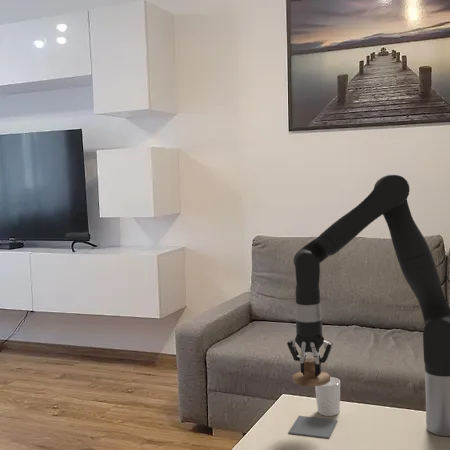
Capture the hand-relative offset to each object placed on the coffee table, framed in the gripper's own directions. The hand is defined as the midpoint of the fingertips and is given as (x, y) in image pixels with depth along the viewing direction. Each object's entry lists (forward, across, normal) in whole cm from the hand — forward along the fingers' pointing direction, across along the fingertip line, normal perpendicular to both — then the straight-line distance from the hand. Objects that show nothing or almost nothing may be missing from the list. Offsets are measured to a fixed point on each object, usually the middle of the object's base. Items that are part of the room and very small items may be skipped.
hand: (311, 374), depth 172 cm
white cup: (+16, -2, -12) cm, 20 cm away
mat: (+16, 0, 0) cm, 16 cm away
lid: (+1, 0, 0) cm, 1 cm away
